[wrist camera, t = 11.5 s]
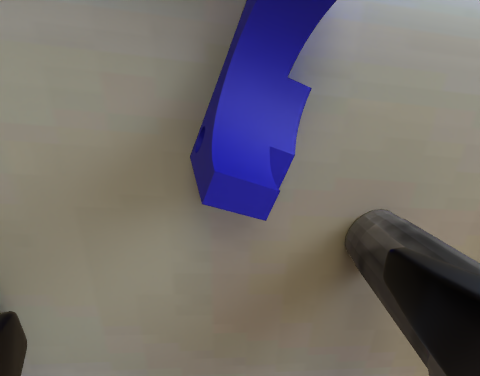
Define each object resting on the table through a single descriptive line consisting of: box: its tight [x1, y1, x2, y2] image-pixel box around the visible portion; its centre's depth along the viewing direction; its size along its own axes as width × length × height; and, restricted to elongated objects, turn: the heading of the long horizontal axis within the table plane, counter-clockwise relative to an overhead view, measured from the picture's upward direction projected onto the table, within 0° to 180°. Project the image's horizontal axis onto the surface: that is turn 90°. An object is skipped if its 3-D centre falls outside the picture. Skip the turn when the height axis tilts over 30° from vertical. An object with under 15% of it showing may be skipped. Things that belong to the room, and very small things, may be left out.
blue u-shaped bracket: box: [190, 0, 336, 221], centre depth 15 cm, size 12×4×6 cm, turn 157°
